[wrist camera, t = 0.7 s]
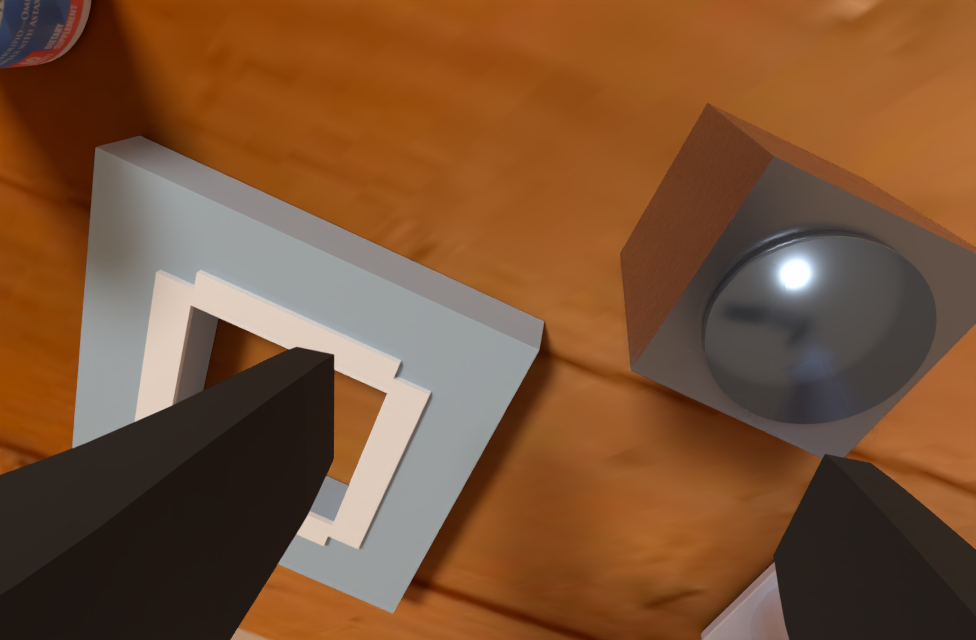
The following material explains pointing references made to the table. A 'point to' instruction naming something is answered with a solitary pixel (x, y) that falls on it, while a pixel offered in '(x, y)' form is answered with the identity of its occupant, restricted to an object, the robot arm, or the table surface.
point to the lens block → (789, 288)
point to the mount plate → (296, 323)
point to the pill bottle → (39, 29)
